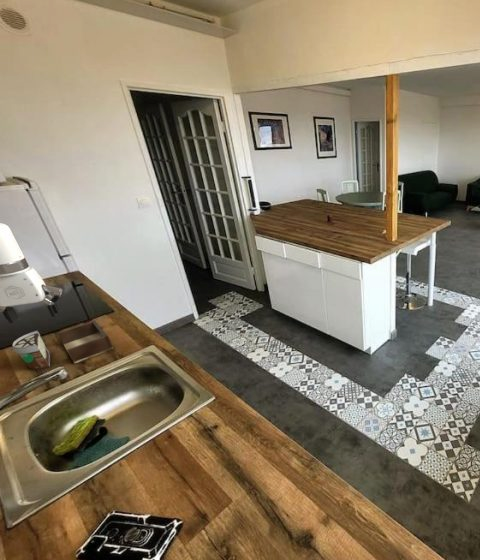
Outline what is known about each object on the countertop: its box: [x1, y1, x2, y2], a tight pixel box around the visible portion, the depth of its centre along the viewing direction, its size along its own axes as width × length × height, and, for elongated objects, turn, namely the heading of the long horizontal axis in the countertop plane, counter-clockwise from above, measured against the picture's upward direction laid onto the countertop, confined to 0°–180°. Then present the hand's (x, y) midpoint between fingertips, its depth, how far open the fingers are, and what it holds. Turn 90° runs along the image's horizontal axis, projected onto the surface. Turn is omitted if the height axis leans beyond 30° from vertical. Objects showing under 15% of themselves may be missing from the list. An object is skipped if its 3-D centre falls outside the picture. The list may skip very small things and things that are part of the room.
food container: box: [11, 330, 51, 371], centre depth 107 cm, size 12×6×10 cm, turn 45°
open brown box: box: [57, 320, 114, 364], centre depth 117 cm, size 11×17×6 cm, turn 53°
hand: (35, 317), depth 96 cm, fingers open, 9 cm apart
